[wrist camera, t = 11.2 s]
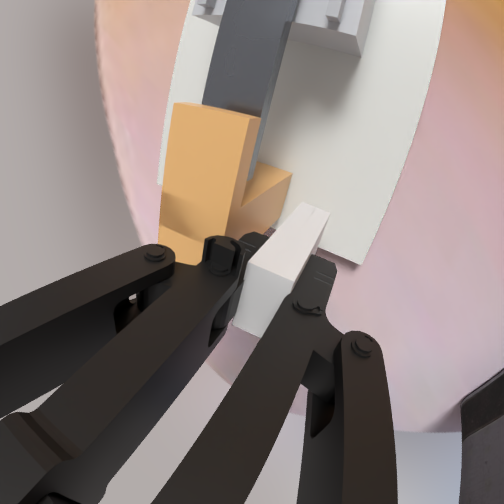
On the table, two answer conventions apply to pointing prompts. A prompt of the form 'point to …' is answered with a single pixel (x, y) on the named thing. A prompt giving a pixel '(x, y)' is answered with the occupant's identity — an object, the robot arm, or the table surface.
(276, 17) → the strap
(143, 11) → the table surface
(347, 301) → the table surface
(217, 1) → the board
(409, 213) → the table surface
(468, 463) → the electronic device
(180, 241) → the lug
